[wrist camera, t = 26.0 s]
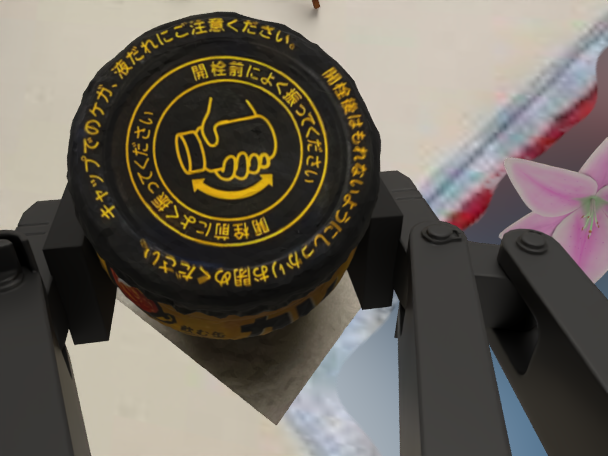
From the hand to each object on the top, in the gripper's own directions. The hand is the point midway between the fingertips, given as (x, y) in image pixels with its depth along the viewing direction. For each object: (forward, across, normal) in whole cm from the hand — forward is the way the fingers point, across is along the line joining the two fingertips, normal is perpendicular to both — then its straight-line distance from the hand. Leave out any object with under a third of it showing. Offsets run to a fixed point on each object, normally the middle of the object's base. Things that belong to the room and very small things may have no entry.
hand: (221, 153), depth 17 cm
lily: (+13, +24, -15) cm, 31 cm away
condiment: (0, 0, -5) cm, 5 cm away
